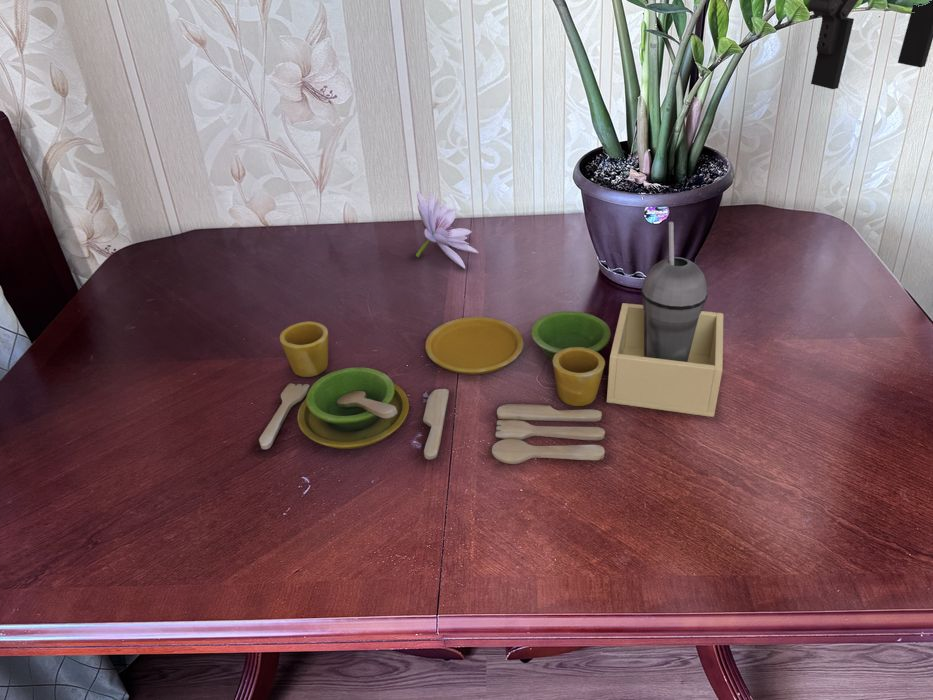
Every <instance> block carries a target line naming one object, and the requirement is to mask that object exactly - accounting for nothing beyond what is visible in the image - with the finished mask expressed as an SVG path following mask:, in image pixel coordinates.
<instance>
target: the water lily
mask: <svg viewBox="0 0 933 700" xmlns="http://www.w3.org/2000/svg"><path fill="white" fill-rule="evenodd" d="M416 197H417V203H418V204H417V210H418V214H419V217H420V219H421V222H422V223H423V225H424V227H425V228H424V231H423V234H424V236H425V239H426V240H425V242H423V244H422V245H421V246H420V248H419V249H418V251H417V252H416V254H415V256H416V257H417V258H419V257H420V256H421V255H422V254H423V252H424V250H425V249H426V248H427V246H428V245H429V244H430V243H434V244H435V243H437V245H438V247H439V248H440V249H441V250H442V252H443V253H444V254H445V256H447V257H448V258H449V259H450V260H452V262H454V263H455V264H456V265H458V266H459V267H461V268H462V269H464V270H466V265H465V262H464V261H463V259H462V258H461V256H460V255H459V254H458V253H457V252H456V251H454V250H453V249H452V248H455V249H458V250H461V251H464V252H468V253H472V254H473V253H474V254H479V251H478V250H477V249H476V248H474V247H473V246H471V245H470V243H469V242H467V241H465V240H468V237H467V236H468V235H470V234H471V233H472V232H473V231H472V230H470V229H468V228H464V227H463V228H461V227H457V228H453V226H451V225H452V224H453V222H455V219H456V215H457V211H456V208H450V209H449V207H448V205H446V204H443V205H441V204H440V201H439V199H438V198H437V199H435V197H434V195H433V193H432V192H429V194H428V201H426V199H425V197H424V196H423V194H422V193H421V192H419V190H416ZM450 247H452V248H450Z"/></svg>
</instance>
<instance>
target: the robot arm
mask: <svg viewBox="0 0 933 700" xmlns="http://www.w3.org/2000/svg"><path fill="white" fill-rule="evenodd" d="M858 2H859V0H809V2H808V5H807V9H808V11H809V12H812V13H813V15H814V16H820V17H821V25H820V29H819V33H818V39H817V43H816V58H815V62H814V68H813V72H812V76H811V81H810V85H814V86H817V87H822V88H826V89H830V90H837V89H839V87H840V86H839V85H840V81H841V78H842V74H843V68H844V64H845V60H846V55H847V50H848V46H849V42H850V38H851V33H852V30H853V25H854V21H855V18H852V17H849V15H850V13H851V12H852V11H853V9H854V8H855V6H856V5H857V3H858ZM929 2H930V3H928V4H926V5H923V6H919V7H918V5H917V6H916V5H913V4H912V7H911V12H915V13H911V12H910V15H909V19H908V23H907V26H906V30H905V33H904V37H903V42H902V43H901V44H902V45H901V48H900V52H899V56H898V60H897V64H902V65H905V66H912V67H916V68H925V67H926V64H927V60H928V57H929V54H930V50H931V47H932V45H933V0H932V1H929ZM919 5H922V4H919Z"/></svg>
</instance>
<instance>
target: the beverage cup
mask: <svg viewBox="0 0 933 700" xmlns="http://www.w3.org/2000/svg"><path fill="white" fill-rule="evenodd" d="M674 228H675V227H674V222H673V221H669V222H668V257H667V258H664V259H662V260H660V261H658V262H656V263H655V264H654V265H653V266H652V267H651V268H650V269H649V270H648V273H647V274H646V276H645V277H644V279H643V283H642V286H641V288H640V295H641V299H642V305H643V309H644V357H649V358H657V359H665V360H673V361H682V362H687V361H688V358H689V354H690V350H691V346H692V342H693V338H694V334H695V330H696V326H697V322H698V318H699V315H700V313H701V311H703V309H704V306H705V303H706V301H707V299H708V293H707V292H708V290H707V288H708V287H707V281H706V277H705V275H704V273H703V271H702V269H700V267H699V266H698V265H697V264H696V263H694V261H691V260H689V259H687V258H685V257H680V256H675V233H674V231H675V230H674Z"/></svg>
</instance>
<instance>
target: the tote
mask: <svg viewBox="0 0 933 700" xmlns="http://www.w3.org/2000/svg"><path fill="white" fill-rule="evenodd" d="M723 353H724V313H722V312H714V311H704V310H702V311H701V313H700V315H699V318H698V322H697V326H696V330H695V334H694V338H693V342H692V346H691V350H690V354H689V358H688V361H687V362H682V361H673V360H665V359H657V358H649V357H644V309H643V304H637V303H636V304H635V303H626V302H625V303H624V302H622V303H621V308H620V312H619V316H618V320H617V325H616V329H615V333H614V338H613V342H612V347H611V351H610V355H609V362H608V363H609V364H608V376H607V377H608V378H607V390H606V391H607V394H606V403H608V404H616V405H622V406H623V405H624V406H630V407H631V406H632V407H638V408H644V409H652V410H659V411H668V412H674V413H681V414H688V415H695V416H701V417H702V416H704V417H709V418H714V417H715V413H716V409H717V402H718V397H719V391H720V386H721V382H722V381H721V380H722V376H723V366H724V365H723V360H724V358H723V357H724V354H723Z"/></svg>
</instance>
